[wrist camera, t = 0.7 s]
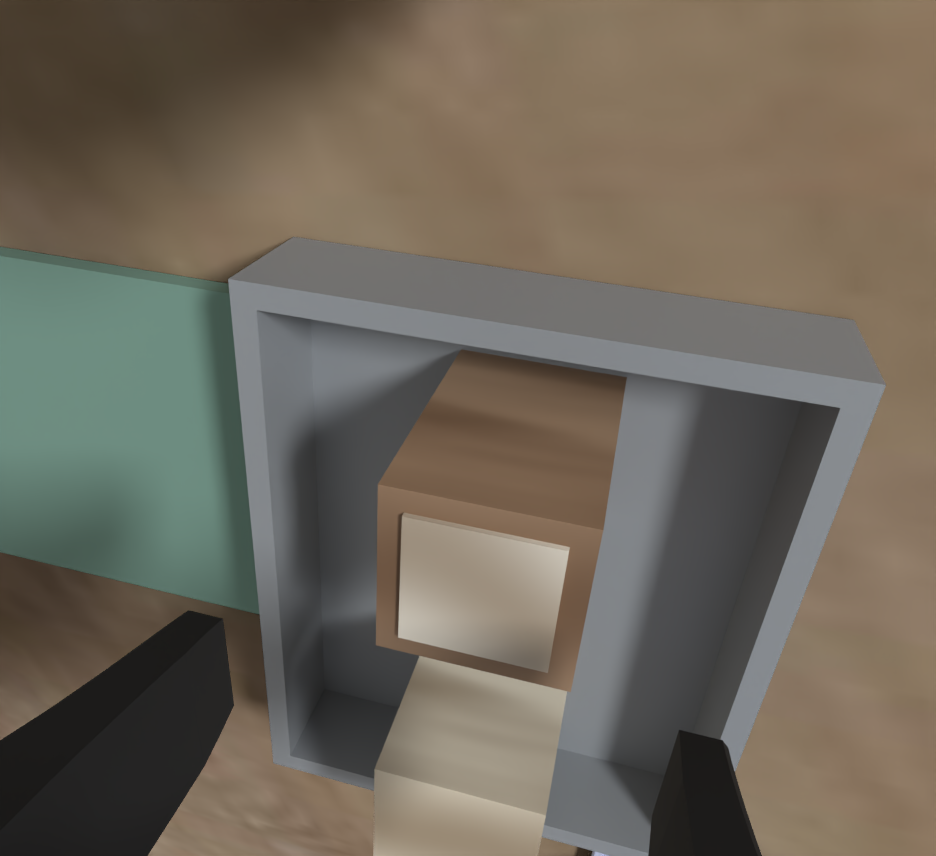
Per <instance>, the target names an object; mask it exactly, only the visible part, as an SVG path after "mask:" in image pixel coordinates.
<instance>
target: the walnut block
mask: <svg viewBox="0 0 936 856" xmlns="http://www.w3.org/2000/svg"><path fill="white" fill-rule="evenodd" d="M626 380H627V377H623V376H617V375H611V374H605V373H599V372H593V371H587V370H581V369H575V368H569V367H563V366H557V365H551V364H545V363H540V362H534V361H528V360H522V359H516V358H510V357H504V356H498V355H492V354H486V353H480V352H474V351H468V350H462V349H461V350H460V352H459V354H458V355H457V357H456V359H455V360H454V362H453V363H452V365H451V367H450V368H449V370H448V371H447V373H446V375H445V376H444V378H443V380H442V381H441V383H440V384H439V386H438V388H437V389H436V391H435V393H434V394H433V396H432V397H431V399H430V401H429V402H428V404H427V405H426V407H425V409H424V410H423V412H422V414H421V415H420V417H419V418H418V420H417V422H416V423H415V425H414V427H413V428H412V430H411V431H410V433H409V435H408V436H407V438H406V439H405V441H404V443H403V444H402V446H401V448H400V449H399V451H398V452H397V454H396V456H395V457H394V459H393V461H392V462H391V464H390V465H389V467H388V469H387V470H386V472H385V473H384V475H383V477H382V478H381V480H380V482H379V483H378V508H377V595H376V645H377V646H381V647H385V648H389V649H393V650H398V651H402V652H406V653H410V654H414V655H418V656H422V657H427V658H431V659H435V660H439V661H443V662H447V663H451V664H456V665H460V666H464V667H468V668H472V669H476V670H481V671H485V672H489V673H493V674H497V675H501V676H505V677H510V678H514V679H518V680H522V681H526V682H530V683H534V684H539V685H543V686H547V687H551V688H555V689H559V690H564V691H568V692H571V688H572V684H573V679H574V674H575V669H576V664H577V659H578V654H579V649H580V644H581V639H582V634H583V629H584V624H585V619H586V614H587V609H588V604H589V599H590V594H591V589H592V584H593V579H594V574H595V569H596V564H597V559H598V554H599V549H600V544H601V539H602V534H603V529H604V523H605V516H606V510H607V503H608V497H609V490H610V484H611V477H612V471H613V464H614V458H615V451H616V445H617V438H618V432H619V425H620V419H621V412H622V406H623V399H624V393H625V386H626Z"/></svg>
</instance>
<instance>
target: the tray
mask: <svg viewBox="0 0 936 856" xmlns="http://www.w3.org/2000/svg"><path fill="white" fill-rule="evenodd" d="M228 283H229V294H230V305H231V315H232V326H233V337H234V347H235V358H236V369H237V379H238V390H239V401H240V411H241V422H242V433H243V443H244V454H245V465H246V475H247V486H248V497H249V507H250V518H251V529H252V539H253V550H254V560H255V571H256V582H257V592H258V603H259V614H260V624H261V635H262V646H263V656H264V667H265V678H266V688H267V699H268V710H269V720H270V731H271V742H272V752H273V763H275V764H278V765H282V766H286V767H289V768H293V769H297V770H300V771H304V772H308V773H311V774H315V775H318V776H322V777H326V778H329V779H333V780H337V781H340V782H344V783H348V784H351V785H355V786H358V787H362V788H366V789H369V790H373V791H374V769H375V767H376V764H377V762H378V759H379V757H380V754H381V752H382V749H383V747H384V744H385V742H386V739H387V737H388V734H389V731H390V729H391V726H392V724H393V721H394V719H395V716H396V714H397V711H398V709H399V706H400V704H401V701H402V699H403V696H404V694H405V691H406V689H407V686H408V684H409V681H410V679H411V676H412V674H413V671H414V669H415V666H416V664H417V661H418V659H419V656H418V655H414V654H410V653H406V652H402V651H398V650H393V649H389V648H385V647H381V646H377V645H376V595H377V508H378V483H379V482H380V480H381V478H382V477H383V475H384V473H385V472H386V470H387V469H388V467H389V465H390V464H391V462H392V461H393V459H394V457H395V456H396V454H397V452H398V451H399V449H400V448H401V446H402V444H403V443H404V441H405V439H406V438H407V436H408V435H409V433H410V431H411V430H412V428H413V427H414V425H415V423H416V422H417V420H418V418H419V417H420V415H421V414H422V412H423V410H424V409H425V407H426V405H427V404H428V402H429V401H430V399H431V397H432V396H433V394H434V393H435V391H436V389H437V388H438V386H439V384H440V383H441V381H442V380H443V378H444V376H445V375H446V373H447V371H448V370H449V368H450V367H451V365H452V363H453V362H454V360H455V359H456V357H457V355H458V354H459V352H460V350H461V349H462V350H468V351H474V352H480V353H486V354H492V355H498V356H504V357H510V358H516V359H522V360H528V361H534V362H540V363H545V364H551V365H557V366H563V367H569V368H575V369H581V370H587V371H593V372H599V373H605V374H611V375H617V376H623V377H627V380H626V386H625V393H624V399H623V406H622V412H621V419H620V425H619V432H618V438H617V445H616V451H615V458H614V464H613V471H612V477H611V484H610V490H609V497H608V503H607V510H606V516H605V523H604V529H603V534H602V539H601V544H600V549H599V554H598V559H597V564H596V569H595V574H594V579H593V584H592V589H591V594H590V599H589V604H588V609H587V614H586V619H585V624H584V629H583V634H582V639H581V644H580V649H579V654H578V659H577V664H576V669H575V674H574V679H573V684H572V688H571V692H568V691H567V695H566V701H565V706H564V712H563V718H562V724H561V730H560V736H559V742H558V748H557V753H556V759H555V765H554V771H553V777H552V783H551V789H550V795H549V800H548V806H547V812H546V818H545V823H544V828H543V833H542V837H544V838H548V839H551V840H555V841H558V842H562V843H566V844H569V845H573V846H577V847H580V848H584V849H588V850H591V851H595V852H598V853H602V854H606V855H609V856H648V854H649V843H650V832H651V821H652V814H653V810H654V807H655V804H656V801H657V798H658V795H659V792H660V788H661V785H662V782H663V779H664V776H665V773H666V769H667V766H668V763H669V760H670V757H671V754H672V751H673V747H674V744H675V741H676V738H677V735H678V732H679V730H683V731H687V732H691V733H695V734H699V735H703V736H707V737H711V738H715V739H720V740H723V741H724V743H725V744H726V745H727V747H728V749H729V753H730V757H731V761H732V764H733V768H734V772H735V770H736V767H737V765H738V762H739V760H740V757H741V755H742V752H743V750H744V747H745V744H746V742H747V739H748V737H749V734H750V732H751V729H752V727H753V724H754V721H755V719H756V716H757V714H758V711H759V709H760V706H761V703H762V701H763V698H764V696H765V693H766V691H767V688H768V686H769V683H770V680H771V678H772V675H773V673H774V670H775V668H776V665H777V663H778V660H779V657H780V655H781V652H782V650H783V647H784V645H785V642H786V639H787V637H788V634H789V632H790V629H791V627H792V624H793V622H794V619H795V616H796V614H797V611H798V609H799V606H800V604H801V601H802V599H803V596H804V593H805V591H806V588H807V586H808V583H809V581H810V578H811V576H812V573H813V570H814V568H815V565H816V563H817V560H818V558H819V555H820V552H821V550H822V547H823V545H824V542H825V540H826V537H827V535H828V532H829V529H830V527H831V524H832V522H833V519H834V517H835V514H836V512H837V509H838V506H839V504H840V501H841V499H842V496H843V494H844V491H845V488H846V486H847V483H848V481H849V478H850V476H851V473H852V471H853V468H854V465H855V463H856V460H857V458H858V455H859V453H860V450H861V448H862V445H863V442H864V440H865V437H866V435H867V432H868V430H869V427H870V424H871V422H872V419H873V417H874V414H875V412H876V409H877V407H878V404H879V401H880V399H881V396H882V394H883V391H884V389H885V386H886V384H885V382H884V380H883V378H882V376H881V374H880V372H879V370H878V368H877V366H876V364H875V362H874V360H873V358H872V356H871V354H870V352H869V350H868V348H867V346H866V344H865V342H864V339H863V337H862V335H861V333H860V331H859V329H858V327H857V325H856V323H855V321H854V320H850V319H843V318H836V317H830V316H823V315H816V314H809V313H803V312H796V311H789V310H783V309H776V308H769V307H762V306H756V305H749V304H742V303H735V302H729V301H722V300H715V299H709V298H702V297H695V296H688V295H682V294H675V293H668V292H661V291H655V290H648V289H641V288H635V287H628V286H621V285H614V284H608V283H601V282H594V281H587V280H581V279H574V278H567V277H561V276H554V275H547V274H540V273H534V272H527V271H520V270H513V269H507V268H500V267H493V266H487V265H480V264H473V263H466V262H460V261H453V260H446V259H439V258H433V257H426V256H419V255H413V254H406V253H399V252H392V251H386V250H379V249H372V248H365V247H359V246H352V245H345V244H339V243H332V242H325V241H318V240H312V239H305V238H298V237H292V238H291V239H289V240H288V241H286V242H285V243H283V244H282V245H280V246H278V247H277V248H275V249H274V250H272V251H271V252H269V253H268V254H266V255H264V256H263V257H261V258H260V259H258V260H257V261H255V262H254V263H252V264H251V265H249V266H247V267H246V268H244V269H243V270H241V271H240V272H238V273H237V274H235V275H233V276H232V277H230V278H229V279H228Z"/></svg>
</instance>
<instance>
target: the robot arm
mask: <svg viewBox="0 0 936 856" xmlns="http://www.w3.org/2000/svg"><path fill="white" fill-rule="evenodd" d="M233 706H234V702H233V694H232V686H231V678H230V671H229V663H228V655H227V647H226V639H225V632H224V624H223V619H222V618H218V617H213V616H209V615H205V614H201V613H197V612H193V611H187V612H186V613H184V614H183V615H181V616H180V617H178V618H177V619H175V620H174V621H173V622H171V623H170V624H168V625H167V626H166V627H164V628H163V629H161V630H160V631H159V632H157V633H156V634H154V635H153V636H152V637H150V638H149V639H148V640H146V641H145V642H143V643H142V644H141V645H139V646H138V647H137V648H135V649H134V650H132V651H131V652H130V653H128V654H127V655H126V656H124V657H123V658H121V659H120V660H119V661H117V662H116V663H114V664H113V665H112V666H110V667H109V668H108V669H106V670H105V671H103V672H102V673H100V674H99V675H98V676H96V677H95V678H93V679H92V680H90V681H89V682H88V683H86V684H85V685H83V686H82V687H80V688H79V689H77V690H76V691H75V692H73V693H72V694H70V695H69V696H67V697H66V698H65V699H63V700H62V701H60V702H59V703H57V704H56V705H54V706H53V707H51V708H50V709H48V710H47V711H45V712H44V713H42V714H41V715H39V716H38V717H36V718H34V719H33V720H31V721H30V722H28V723H27V724H25V725H24V726H22V727H20V728H19V729H17V730H16V731H14V732H13V733H11V734H10V735H8V736H6V737H5V738H3V739H2V740H0V856H148V854H149V852H150V851H151V849H152V848H153V846H154V845H155V843H156V842H157V840H158V838H159V837H160V835H161V834H162V832H163V831H164V829H165V828H166V826H167V824H168V823H169V821H170V820H171V818H172V817H173V815H174V814H175V812H176V810H177V809H178V807H179V806H180V804H181V802H182V801H183V799H184V798H185V796H186V795H187V793H188V791H189V790H190V788H191V787H192V785H193V784H194V782H195V780H196V779H197V777H198V775H199V774H200V772H201V771H202V769H203V767H204V766H205V764H206V762H207V760H208V758H209V756H210V754H211V752H212V750H213V748H214V746H215V744H216V742H217V740H218V738H219V736H220V734H221V732H222V729H223V727H224V725H225V723H226V721H227V719H228V717H229V715H230V712H231V710H232V708H233ZM591 856H609V855H606V854H602V853H598V852H595V851H592V854H591ZM648 856H762V855H761V852H760V849H759V847H758V844H757V841H756V838H755V835H754V832H753V829H752V826H751V823H750V820H749V817H748V814H747V811H746V808H745V805H744V802H743V799H742V796H741V792H740V789H739V786H738V782H737V779H736V775H735V772H734V768H733V764H732V761H731V757H730V753H729V749H728V747H727V745H726V744H725V743H724V741H723V740H720V739H715V738H711V737H707V736H703V735H699V734H695V733H691V732H687V731H683V730H679V732H678V735H677V738H676V741H675V744H674V747H673V751H672V754H671V757H670V760H669V763H668V766H667V769H666V773H665V776H664V779H663V782H662V785H661V788H660V792H659V795H658V798H657V801H656V804H655V807H654V810H653V814H652V821H651V832H650V843H649V854H648Z"/></svg>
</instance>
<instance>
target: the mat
mask: <svg viewBox="0 0 936 856" xmlns="http://www.w3.org/2000/svg"><path fill="white" fill-rule="evenodd" d="M0 552H2V553H6V554H10V555H14V556H18V557H22V558H26V559H31V560H35V561H39V562H43V563H47V564H51V565H56V566H60V567H64V568H68V569H72V570H76V571H81V572H85V573H89V574H93V575H97V576H101V577H106V578H110V579H114V580H118V581H122V582H126V583H131V584H135V585H139V586H143V587H147V588H151V589H155V590H160V591H164V592H168V593H172V594H176V595H180V596H185V597H189V598H193V599H197V600H201V601H205V602H210V603H214V604H218V605H222V606H226V607H230V608H235V609H239V610H243V611H247V612H251V613H255V614H259V603H258V592H257V582H256V571H255V560H254V550H253V539H252V529H251V518H250V507H249V497H248V486H247V475H246V465H245V454H244V443H243V433H242V422H241V411H240V401H239V390H238V379H237V369H236V358H235V347H234V337H233V326H232V315H231V305H230V294H229V284H227V283H221V282H215V281H208V280H202V279H196V278H190V277H184V276H178V275H172V274H165V273H159V272H153V271H147V270H141V269H135V268H128V267H122V266H116V265H110V264H104V263H98V262H91V261H85V260H79V259H73V258H67V257H61V256H54V255H48V254H42V253H36V252H30V251H24V250H17V249H11V248H5V247H0Z"/></svg>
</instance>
